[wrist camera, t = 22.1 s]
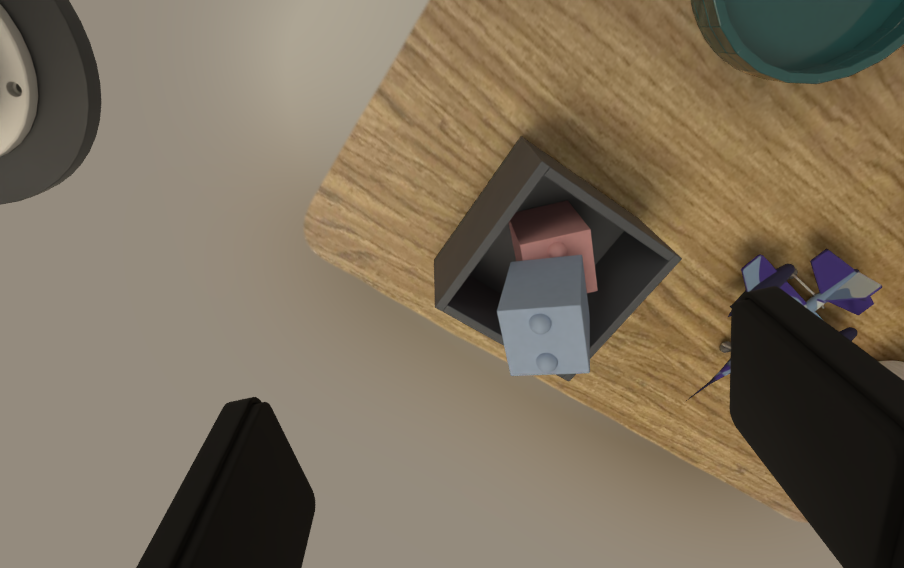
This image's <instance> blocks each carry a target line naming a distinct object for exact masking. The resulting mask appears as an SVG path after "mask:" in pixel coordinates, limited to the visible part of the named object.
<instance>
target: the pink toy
mask: <svg viewBox="0 0 904 568" xmlns="http://www.w3.org/2000/svg"><path fill="white" fill-rule="evenodd" d="M509 227H510V232H511V237H512V243H513V248H514V253H515V258H516V261H524V260H534V259H544V258H553V257H563V256H573V255H582V257H583V266H584V274H585V282H586V290H587V293H590V292H595V291H598V289H597V281H596V272H595V263H594V255H593V246H592V238H591V229H590V228H589V227H588V226H587V224H586V223H585V222H584V220H583V219H582V218H581V217H580V215H579V214H578V213H577V212H576V210H575V209H574V208H573V207H572V205H571V204H570V203H569V202H568V200H567V201H562V202H558V203H554V204H549V205H545V206H541V207H537V208H532V209H528V210H524V211H519V212H516V213H515V214H514V216H513V217H512V218H511V220H510V221H509Z"/></svg>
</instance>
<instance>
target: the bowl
mask: <svg viewBox="0 0 904 568" xmlns="http://www.w3.org/2000/svg"><path fill="white" fill-rule="evenodd" d="M691 4H692V9H693V13H694V15H695V18H696V21H697V24H698V27H699V29H700V30H701V32H702V34H703V36H704V38H705V40H706V41H707V42H708V44H709V45H710V47H711V48H712V49H713V51H714V52H715V53H716V54H717V55H718V56H720V57H721V58H722V59H723V60H724V61H725V62H727V63H728V64H729V65H731V66H732V67H734V68H735V69H738V70H740V71H742V72H744V73H746V74H749V75H753V76H757V77H759V78H762V79H766V80H773V81H779V82H785V83H806V84H819V83H824V82H828V81H832V80H836V79H841V78H845V77H849V76H851V75H853V74H856V73H858V72H860V71H862V70H864V69H866V68H868V67H870V66H872V65H874V64H876V63H878V62H880V61H882V60H883V59H885V58H886V57H888V56H889V55H890V54H892V53H893V52H894V51H896V50H897V49H898V48H899V47H901V46H902V45H903V44H904V0H691Z"/></svg>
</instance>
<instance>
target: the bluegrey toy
mask: <svg viewBox="0 0 904 568" xmlns="http://www.w3.org/2000/svg"><path fill="white" fill-rule="evenodd" d="M497 315H498V319H499V324H500V329H501V333H502V338H503V342H504V347H505V352H506V356H507V361H508V365H509V370H510V375H511V376H521V375H550V374H579V373H590V315H589V306H588V298H587V290H586V282H585V274H584V266H583V257H582V255H573V256H563V257H553V258H544V259H534V260H524V261H514V262H511V263H510V266H509V270H508V273H507V277H506V281H505V284H504V288H503V291H502V295H501V298H500V302H499V306H498V309H497Z"/></svg>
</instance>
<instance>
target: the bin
mask: <svg viewBox="0 0 904 568" xmlns="http://www.w3.org/2000/svg"><path fill="white" fill-rule="evenodd" d="M567 200H568V202H569V203H570V204H571V205H572V207H573V208H574V209H575V210H576V212H577V213H578V214H579V215H580V217H581V218H582V219H583V220H584V222H585V223H586V224H587V226H588V227H589V228H590V229H591V238H592V246H593V255H594V263H595V272H596V281H597V289H598V291H595V292H590V293H587V298H588V306H589V315H590V358H591V357H592V356H593V355H594V354H595V353H596V352H597V351H598V350H599V349H600V347H601V346H602V345H603V344H604V343H605V342H606V341H607V340H608V339H609V338H610V337H611V336H612V334H613V333H614V332H615V331H616V330H617V329H618V328H619V327H620V326H621V325H622V324H623V322H624V321H625V320H626V319H627V318H628V317H629V316H630V315H631V314H632V313H633V312H634V311H635V309H636V308H637V307H638V306H639V305H640V304H641V303H642V302H643V301H644V300H645V299H646V297H647V296H648V295H649V294H650V293H651V292H652V291H653V290H654V289H655V288H656V287H657V286H658V284H659V283H660V282H661V281H662V280H663V279H664V278H665V277H666V276H667V275H668V274H669V272H670V271H671V270H672V269H673V268H674V267H675V266H676V265H677V264H678V263H679V262H680V260H681V259H682V258H681V257H680V256H679V255H678V254H676V253H675V252H674V251H673V250H672V249H671V248H670V247H669V246H668V245H667V244H666V243H665V242H663V241H662V240H661V239H660V238H659V237H658V236H657V235H656V234H655V233H654V232H653V231H651V230H650V229H649V228H648V227H647V226H646V225H645V224H644V223H643V222H642V221H641V220H640V219H638V218H637V217H636V216H634V215H633V214H631V213H630V212H628V211H627V210H626V209H624V208H623V207H621V206H620V205H618V204H617V203H616V202H614V201H613V200H611V199H610V198H609V197H607V196H606V195H604V194H603V193H601V192H600V191H599V190H597V189H596V188H594V187H593V186H591V185H590V184H589V183H587V182H586V181H584V180H583V179H582V178H580V177H579V176H577V175H576V174H574V173H573V172H572V171H570V170H569V169H567V168H566V167H564V166H563V165H562V164H560V163H559V162H557V161H556V160H555V159H553V158H552V157H550V156H549V155H547V154H546V153H545V152H543V151H542V150H540V149H539V148H537V147H536V146H535V145H533V144H532V143H530V142H529V141H528V140H526V139H525V138H523V137H522V136H521V137H520V138H519V140H518V141H517V142H516V144H515V145H514V147H513V148H512V150H511V151H510V152H509V154H508V155H507V157H506V158H505V160H504V161H503V162H502V164H501V165H500V167H499V168H498V170H497V171H496V172H495V174H494V175H493V177H492V178H491V180H490V181H489V182H488V184H487V185H486V187H485V188H484V190H483V191H482V192H481V194H480V195H479V197H478V198H477V200H476V201H475V202H474V204H473V205H472V207H471V208H470V210H469V211H468V212H467V214H466V215H465V217H464V218H463V220H462V221H461V222H460V224H459V225H458V227H457V228H456V230H455V231H454V232H453V234H452V235H451V237H450V238H449V239H448V241H447V242H446V244H445V245H444V247H443V248H442V249H441V251H440V252H439V254H438V255H437V257H436V258H435V259H434V284H435V308H437V309H439V310H441V311H443V312H444V313H446V314H448V315H450V316H452V317H453V318H455V319H457V320H459V321H461V322H462V323H464V324H466V325H468V326H470V327H471V328H473V329H475V330H477V331H479V332H480V333H482V334H484V335H486V336H488V337H489V338H491V339H493V340H495V341H497V342H498V343H500V344H502V345H504V342H503V338H502V333H501V329H500V324H499V319H498V315H497V309H498V306H499V302H500V298H501V295H502V291H503V288H504V284H505V281H506V277H507V273H508V270H509V266H510V263H511V262H514V261H516V258H515V253H514V248H513V243H512V237H511V232H510V227H509V221H510V220H511V218H512V217H513V216H514V214H515V213H516V212H519V211H524V210H528V209H532V208H537V207H541V206H545V205H549V204H554V203H558V202H562V201H567ZM556 375H558V376H559V377H561V378H563V379H565V380H567V381H570V380H571V379H572V378H573V377H574V376H575V375H576V374H556Z"/></svg>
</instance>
